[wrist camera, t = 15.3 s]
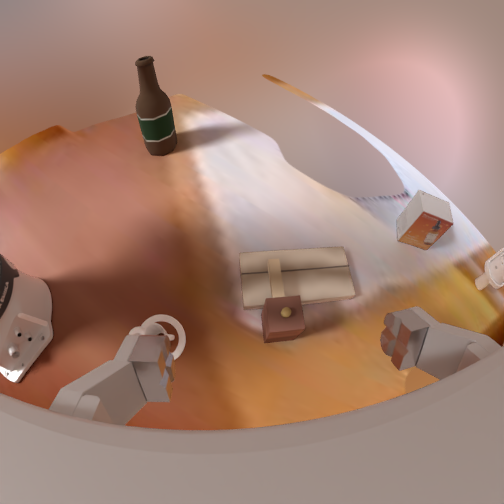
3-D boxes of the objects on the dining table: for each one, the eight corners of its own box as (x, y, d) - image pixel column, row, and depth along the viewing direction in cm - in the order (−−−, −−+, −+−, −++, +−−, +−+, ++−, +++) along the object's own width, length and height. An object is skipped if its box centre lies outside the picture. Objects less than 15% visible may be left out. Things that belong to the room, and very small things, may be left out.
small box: (396, 241, 49) (422, 210, 40) (395, 219, 52) (418, 188, 43) (426, 251, 49) (454, 224, 39) (424, 230, 51) (449, 201, 42)
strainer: (490, 288, 45) (531, 259, 32) (480, 303, 43) (525, 275, 30) (476, 265, 48) (515, 233, 34) (465, 279, 46) (509, 246, 33)
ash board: (351, 298, 43) (355, 294, 41) (243, 309, 42) (243, 305, 40) (339, 252, 47) (343, 246, 46) (239, 258, 46) (239, 252, 44)
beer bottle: (184, 142, 60) (171, 52, 39) (162, 160, 57) (141, 67, 36) (162, 133, 62) (146, 50, 41) (140, 151, 58) (117, 65, 37)
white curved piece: (126, 346, 38) (116, 342, 34) (148, 305, 42) (140, 296, 38) (172, 373, 37) (166, 371, 33) (194, 328, 40) (190, 322, 37)
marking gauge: (293, 340, 40) (306, 327, 32) (264, 343, 39) (270, 331, 32) (283, 272, 45) (292, 245, 37) (256, 273, 45) (260, 247, 37)
